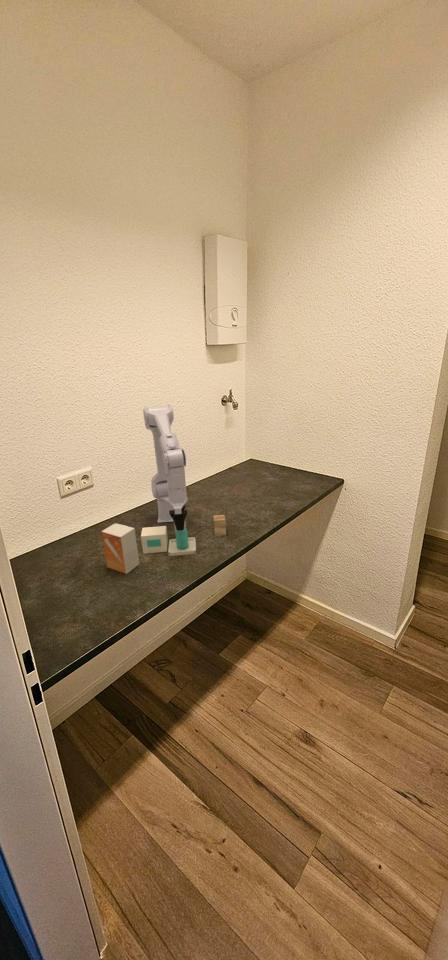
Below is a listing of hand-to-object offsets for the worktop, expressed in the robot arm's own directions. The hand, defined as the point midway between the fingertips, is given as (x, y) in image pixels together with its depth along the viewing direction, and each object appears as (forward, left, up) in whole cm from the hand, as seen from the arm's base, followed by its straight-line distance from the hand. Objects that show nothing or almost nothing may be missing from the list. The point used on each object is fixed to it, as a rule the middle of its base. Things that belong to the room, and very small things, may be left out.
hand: (180, 524), depth 130 cm
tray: (0, 0, -9) cm, 9 cm away
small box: (+8, -18, -9) cm, 22 cm away
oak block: (-8, +14, -9) cm, 18 cm away
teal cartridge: (0, 0, -8) cm, 8 cm away
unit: (-1, -9, -9) cm, 13 cm away
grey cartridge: (-8, 0, -9) cm, 12 cm away
